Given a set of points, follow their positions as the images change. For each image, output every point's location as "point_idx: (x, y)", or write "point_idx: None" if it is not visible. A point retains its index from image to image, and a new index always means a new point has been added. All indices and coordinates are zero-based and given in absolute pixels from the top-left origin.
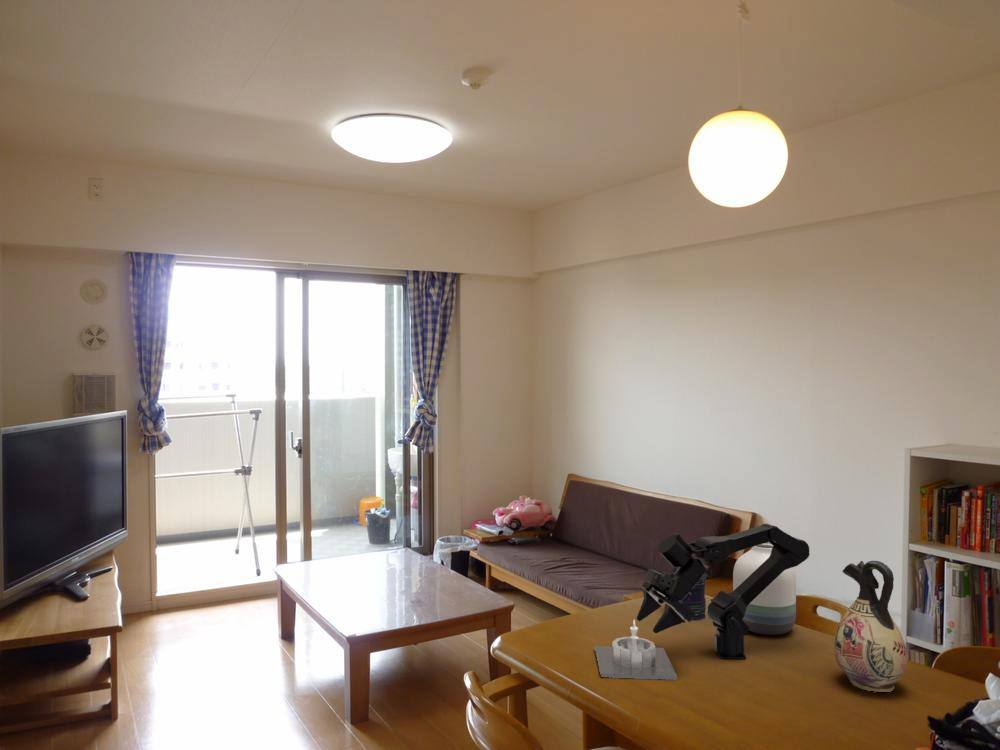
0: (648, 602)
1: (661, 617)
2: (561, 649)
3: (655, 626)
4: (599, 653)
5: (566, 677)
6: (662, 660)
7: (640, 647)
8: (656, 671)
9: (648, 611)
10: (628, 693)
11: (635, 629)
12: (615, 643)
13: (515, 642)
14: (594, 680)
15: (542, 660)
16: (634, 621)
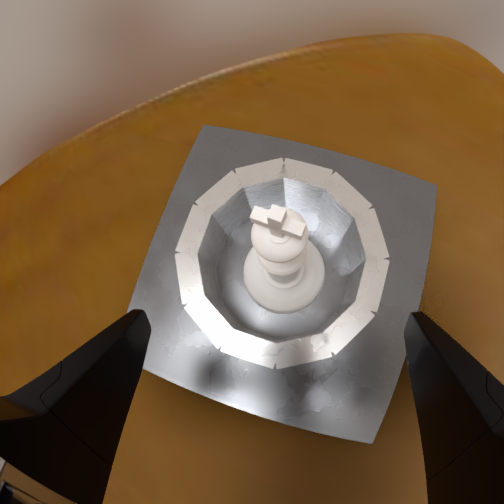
0: (476, 448)
1: (68, 376)
2: (431, 108)
3: (119, 326)
4: (370, 171)
5: (240, 66)
6: (249, 383)
7: (330, 320)
8: (161, 305)
9: (431, 422)
10: (102, 174)
11: (252, 232)
12: (309, 174)
13: (458, 53)
14: (199, 114)
15: (356, 51)
16: (268, 215)
